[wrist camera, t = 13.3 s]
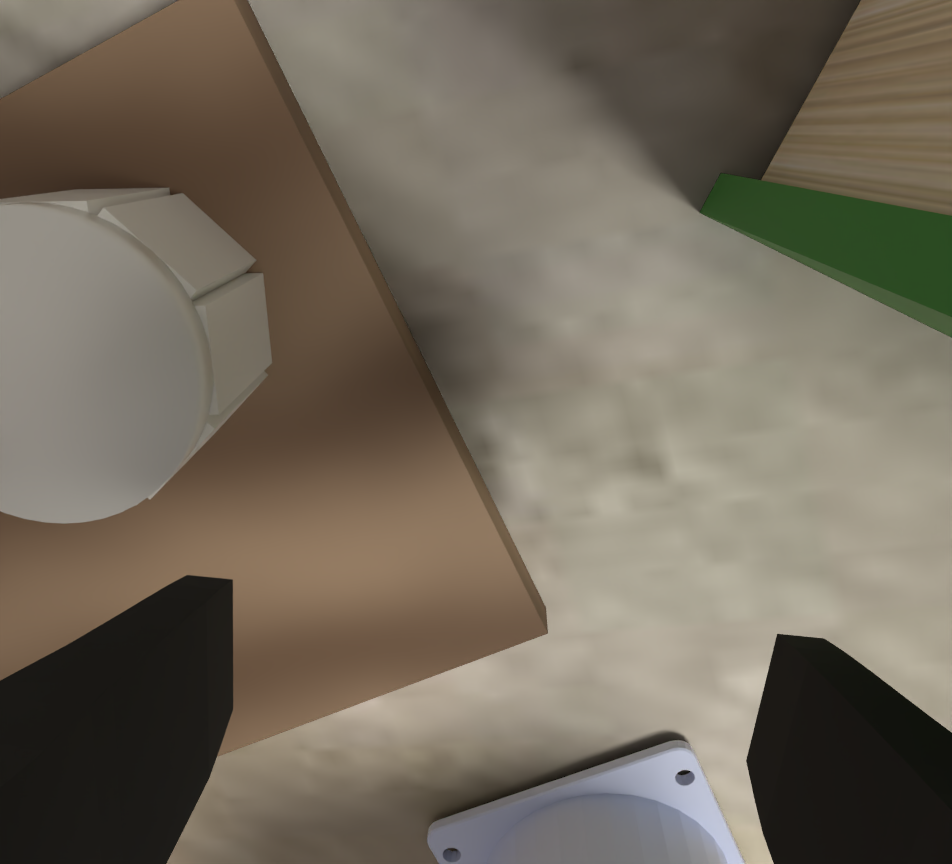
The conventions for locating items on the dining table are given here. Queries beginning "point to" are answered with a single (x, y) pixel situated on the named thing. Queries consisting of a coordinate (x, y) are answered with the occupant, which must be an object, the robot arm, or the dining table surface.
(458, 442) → the brown tray
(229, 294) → the cap
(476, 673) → the dining table surface
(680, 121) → the dining table surface
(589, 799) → the robot arm
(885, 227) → the hardback book
